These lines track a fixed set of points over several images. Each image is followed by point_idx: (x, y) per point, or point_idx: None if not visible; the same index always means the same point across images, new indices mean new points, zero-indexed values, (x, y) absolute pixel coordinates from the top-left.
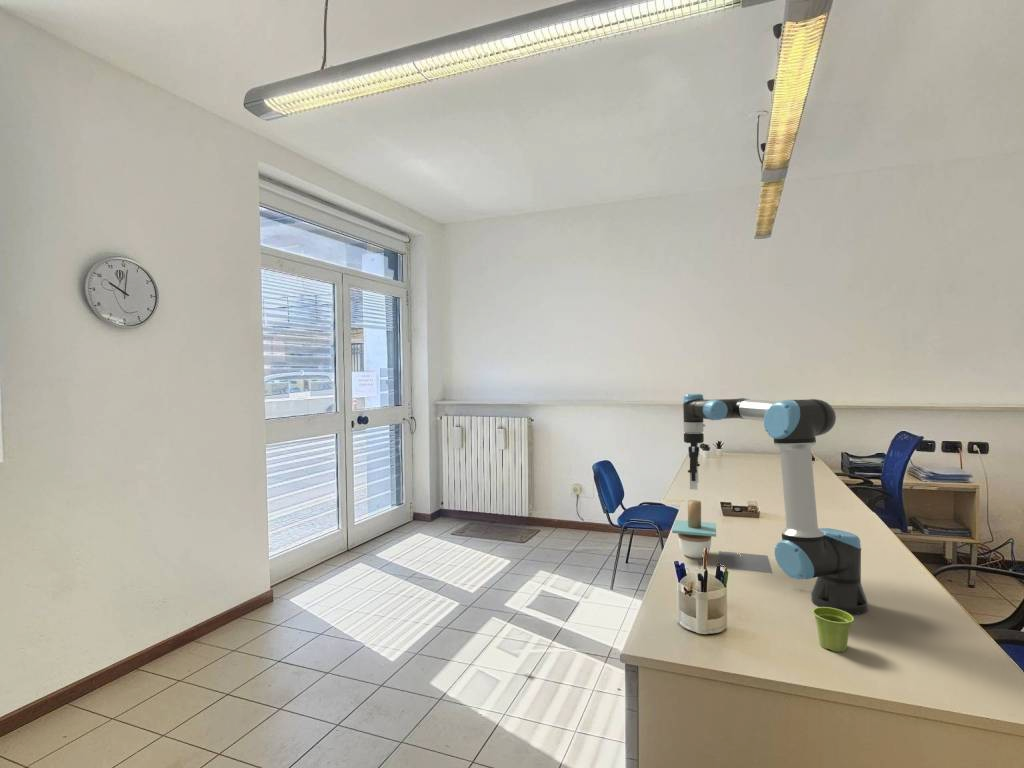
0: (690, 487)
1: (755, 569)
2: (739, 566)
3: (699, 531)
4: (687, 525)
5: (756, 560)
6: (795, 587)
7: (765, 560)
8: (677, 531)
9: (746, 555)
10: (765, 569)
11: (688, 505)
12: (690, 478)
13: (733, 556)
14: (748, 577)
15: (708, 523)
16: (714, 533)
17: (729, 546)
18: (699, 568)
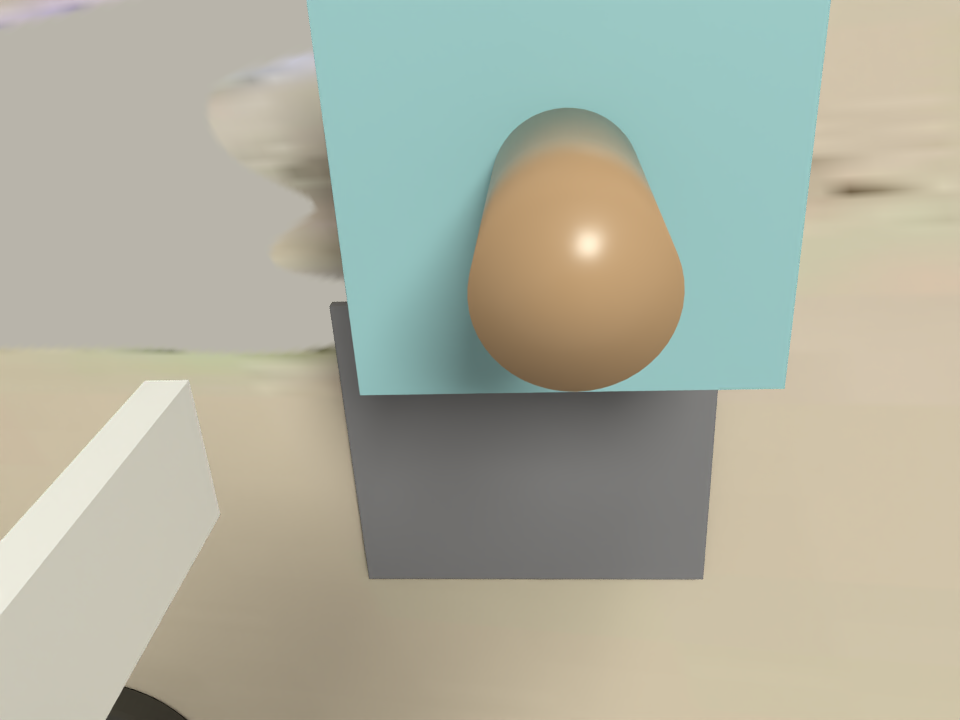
0: (126, 412)
1: (394, 504)
2: (412, 424)
3: (386, 246)
4: (591, 98)
5: (575, 518)
6: (231, 644)
7: (593, 562)
8: (309, 1)
9: (665, 469)
10: (418, 551)
11: (524, 188)
12: (7, 558)
13: (616, 393)
14: (266, 459)
15: (746, 318)
16: (376, 381)
17: (906, 363)
18: (289, 171)
